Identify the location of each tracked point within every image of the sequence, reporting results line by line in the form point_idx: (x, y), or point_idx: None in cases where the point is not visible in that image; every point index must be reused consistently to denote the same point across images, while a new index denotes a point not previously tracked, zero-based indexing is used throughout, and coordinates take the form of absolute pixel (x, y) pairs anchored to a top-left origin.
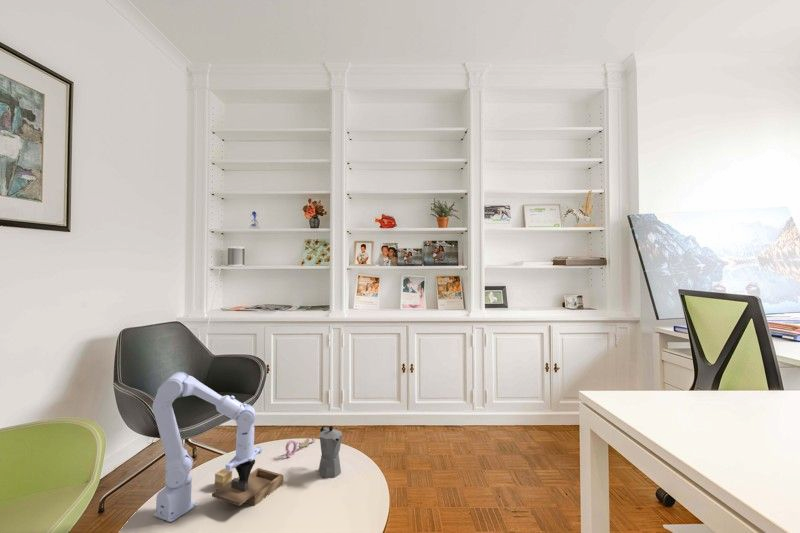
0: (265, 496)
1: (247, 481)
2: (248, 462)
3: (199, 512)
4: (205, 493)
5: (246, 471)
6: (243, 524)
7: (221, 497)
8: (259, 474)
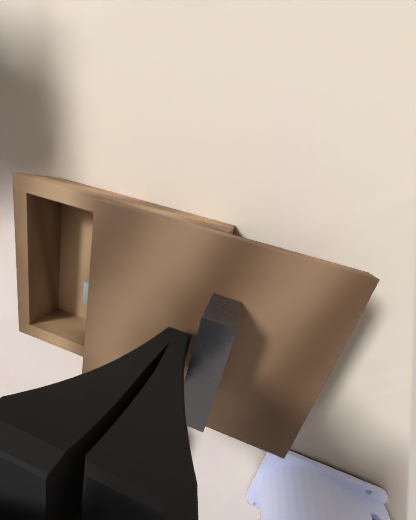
0: (165, 207)
1: (167, 328)
2: (47, 516)
3: (310, 421)
4: (195, 440)
5: (161, 406)
6: (398, 200)
7: (311, 403)
8: (49, 307)
